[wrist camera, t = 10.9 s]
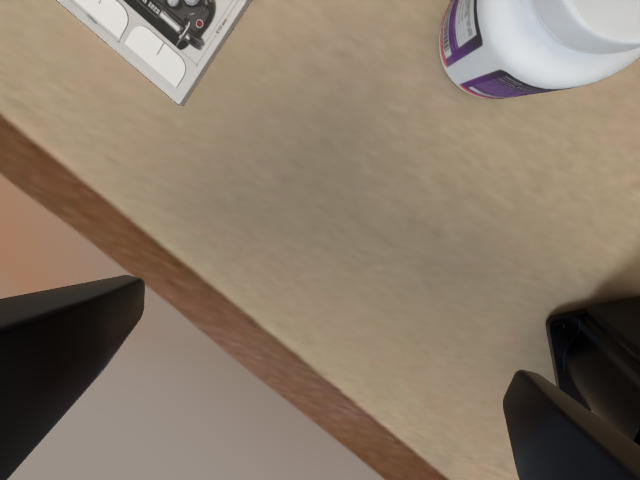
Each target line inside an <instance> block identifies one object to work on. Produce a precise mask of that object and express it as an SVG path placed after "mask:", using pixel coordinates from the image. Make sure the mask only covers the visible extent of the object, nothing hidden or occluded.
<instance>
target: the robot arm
mask: <svg viewBox="0 0 640 480" xmlns="http://www.w3.org/2000/svg"><path fill="white" fill-rule="evenodd" d="M144 294H145V283H144V281H143V279H141V278H138V277H134V276H129V275H123V276H118V277H113V278H108V279H102V280H97V281H92V282H87V283H81V284H76V285H71V286H66V287H61V288H55V289H50V290H45V291H40V292H34V293H29V294H24V295H19V296H14V297H8V298H3V299H0V480H7V479H8V478H9V477H10V476H11V474H12V473H13V472H14V471H15V470H16V469H17V468H18V467H19V465H20V464H21V463H22V462H23V461H24V460H25V459H26V457H27V456H28V455H29V454H30V453H31V452H32V451H33V449H34V448H35V447H36V446H37V445H38V444H39V443H40V442H41V440H42V439H43V438H44V437H45V436H46V435H47V433H49V431H50V430H51V429H52V428H53V427H54V426H55V424H56V423H57V422H58V421H59V420H60V419H61V418H62V417H63V416H64V414H65V413H66V412H67V411H68V410H69V408H70V407H71V406H72V405H73V404H74V403H75V402H76V400H78V398H79V397H80V396H81V395H82V394H83V393H84V392H85V391H86V389H87V388H88V387H89V386H90V385H91V383H93V381H94V380H95V379H96V378H97V377H98V376H99V375H100V373H101V372H102V371H103V370H104V368H105V367H106V366H107V365H108V363H109V362H110V361H111V359H112V358H113V356H114V355H115V354H116V352H117V350H118V349H119V348H120V346H121V345H122V344H123V342H124V341H125V340H126V338H127V337H128V335H129V334H130V333H131V331H132V330H133V328H134V327H135V325H136V324H137V323H138V321H139V320H140V318H141V316H142V314H143V310H144ZM557 323H560V325H559V326H557V327H554V325H555V324H557ZM546 330H547V336H548V341H549V347H550V352H551V357H552V363H553V368H554V374H555V379H556V385H557V387H556V386H555V385H553V384H552V383H551V382H549V381H548V380H546V379H545V378H543V377H542V376H541V375H539V374H537V373H534V372H529V371H525V370H519V371H517V372H516V373H515V375H514V377H513V379H512V381H511V383H510V385H509V387H508V389H507V392H506V394H505V396H504V399H503V410H504V414H505V419H506V423H507V428H508V433H509V437H510V442H511V446H512V451H513V456H514V460H515V464H516V468H517V472H518V476H519V479H520V480H640V296H638V297H633V298H629V299H624V300H619V301H615V302H610V303H605V304H601V305H596V306H591V307H590V308H587V309H582V310H577V311H572V312H568V313H563V314H558V315H554V316H551V317H549V318H548V319H547V321H546ZM591 411H592V412H591Z"/></svg>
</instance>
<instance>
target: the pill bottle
mask: <svg viewBox="0 0 640 480" xmlns="http://www.w3.org/2000/svg"><path fill="white" fill-rule="evenodd" d="M439 51H440V57H441V61H442V64H443V66H444V69H445V71H446V73H447V74H448V76H449V77H450V79H451V80H452V81H453V82H454V83H455V84H456V85H457V86H458V87H459V88H461V89H462V90H463V91H465V92H467V93H469V94H471V95H473V96H476V97H480V98H485V99H503V98H511V97H517V96H523V95H529V94H536V93H543V92H550V91H556V90H562V89H570V88H574V87H579V86H583V85H587V84H590V83H594V82H597V81H599V80H602V79H605V78H607V77H609V76H611V75H613V74H615V73H617V72H619V71H621V70H622V69H624V68H626V67H627V66H629V65H630V64H632V63H633V62H634V61H636V60H637V59H638V58H640V0H451V2H450V4H449V6H448V8H447V10H446V12H445V14H444V17H443V20H442V24H441V28H440V33H439Z"/></svg>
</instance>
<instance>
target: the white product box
mask: <svg viewBox="0 0 640 480" xmlns="http://www.w3.org/2000/svg"><path fill="white" fill-rule="evenodd" d="M56 1H58V2H59V3H60V4H61V5H62V6H63V7H65V8H66V9H67V10H68V11H69V12H70V13H72V14H73V15H74V16H75V17H76V18H77V19H79V20H80V21H81V22H82V23H83V24H84V25H86V26H87V27H88V28H89V29H90V30H91V31H93V32H94V33H95V34H96V35H97V36H98V37H100V38H101V39H102V40H103V41H104V42H105V43H107V44H108V45H109V46H110V47H111V48H112V49H114V50H115V51H116V52H117V53H118V54H119V55H121V56H122V57H123V58H124V59H125V60H126V61H128V62H129V63H130V64H131V65H132V66H133V67H135V68H136V69H137V70H138V71H139V72H140V73H142V74H143V75H144V76H145V77H146V78H147V79H149V80H150V81H151V82H152V83H153V84H154V85H156V86H157V87H158V88H159V89H160V90H161V91H163V92H164V93H165V94H166V95H167V96H168V97H170V98H171V99H172V100H173V101H174V102H175V103H177V104H178V105H179V106H183V105H184V104H185V102H186V101H187V99H188V98H189V96H190V95H191V93H192V92H193V90H194V89H195V87H196V85H197V84H198V82H199V81H200V79H201V78H202V76H203V75H204V73H205V72H206V70H207V69H208V67H209V66H210V64H211V62H212V61H213V59H214V58H215V56H216V55H217V53H218V52H219V50H220V49H221V47H222V46H223V44H224V43H225V41H226V39H227V38H228V36H229V35H230V33H231V32H232V30H233V29H234V27H235V26H236V24H237V23H238V21H239V20H240V18H241V16H242V15H243V13H244V12H245V10H246V9H247V7H248V6H249V4H250V3H251V1H252V0H56Z"/></svg>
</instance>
